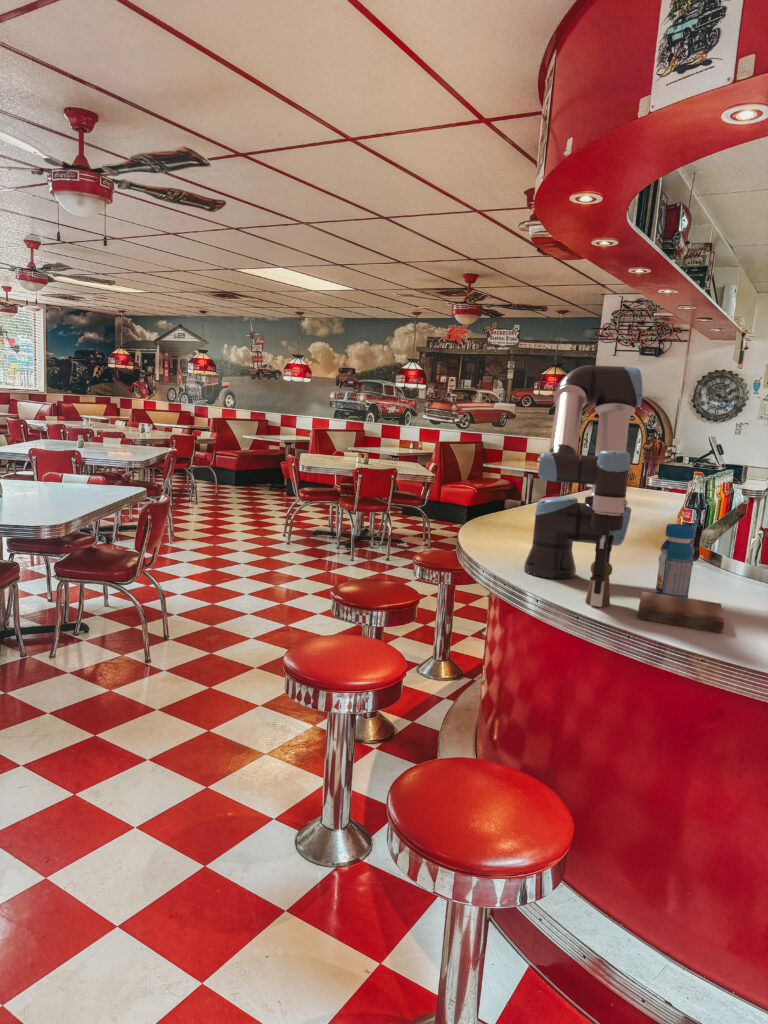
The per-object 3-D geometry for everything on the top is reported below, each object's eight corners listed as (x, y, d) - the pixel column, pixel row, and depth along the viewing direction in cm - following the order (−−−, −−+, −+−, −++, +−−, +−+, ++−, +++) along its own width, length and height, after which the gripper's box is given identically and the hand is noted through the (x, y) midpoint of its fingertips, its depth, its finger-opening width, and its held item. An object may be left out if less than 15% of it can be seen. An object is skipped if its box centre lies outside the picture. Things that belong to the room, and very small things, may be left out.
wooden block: (637, 619, 152) (639, 605, 152) (640, 604, 166) (642, 591, 165) (722, 634, 145) (724, 619, 145) (718, 617, 159) (720, 603, 158)
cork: (609, 602, 166) (614, 561, 164) (609, 608, 160) (614, 565, 158) (585, 599, 167) (590, 558, 166) (584, 605, 162) (589, 562, 160)
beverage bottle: (673, 604, 168) (683, 529, 165) (647, 595, 176) (656, 523, 173) (695, 601, 172) (705, 528, 169) (668, 593, 180) (677, 522, 177)
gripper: (620, 519, 150) (609, 614, 153) (626, 510, 167) (616, 596, 171) (587, 515, 153) (576, 609, 157) (596, 507, 170) (587, 591, 174)
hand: (597, 602), depth 164 cm, fingers closed on cork, 6 cm apart
